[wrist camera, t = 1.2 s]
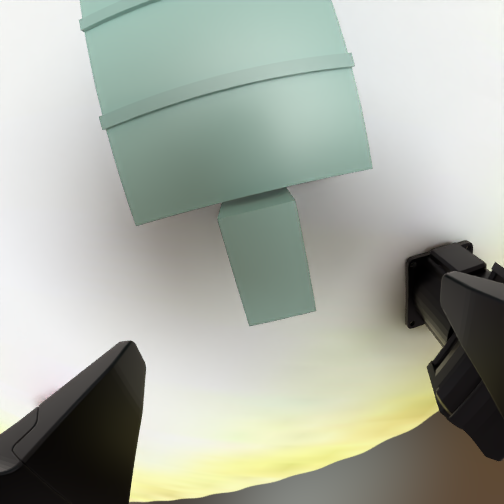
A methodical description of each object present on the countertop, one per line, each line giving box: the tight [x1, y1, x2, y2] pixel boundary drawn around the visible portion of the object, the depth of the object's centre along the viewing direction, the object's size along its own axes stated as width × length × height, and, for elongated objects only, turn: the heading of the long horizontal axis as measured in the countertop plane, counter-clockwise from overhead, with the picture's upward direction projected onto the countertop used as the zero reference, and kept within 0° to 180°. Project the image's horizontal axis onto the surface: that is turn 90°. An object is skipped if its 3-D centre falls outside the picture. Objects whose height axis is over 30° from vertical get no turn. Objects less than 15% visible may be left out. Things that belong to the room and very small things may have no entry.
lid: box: [79, 0, 373, 326], centre depth 11 cm, size 20×11×3 cm, turn 14°
